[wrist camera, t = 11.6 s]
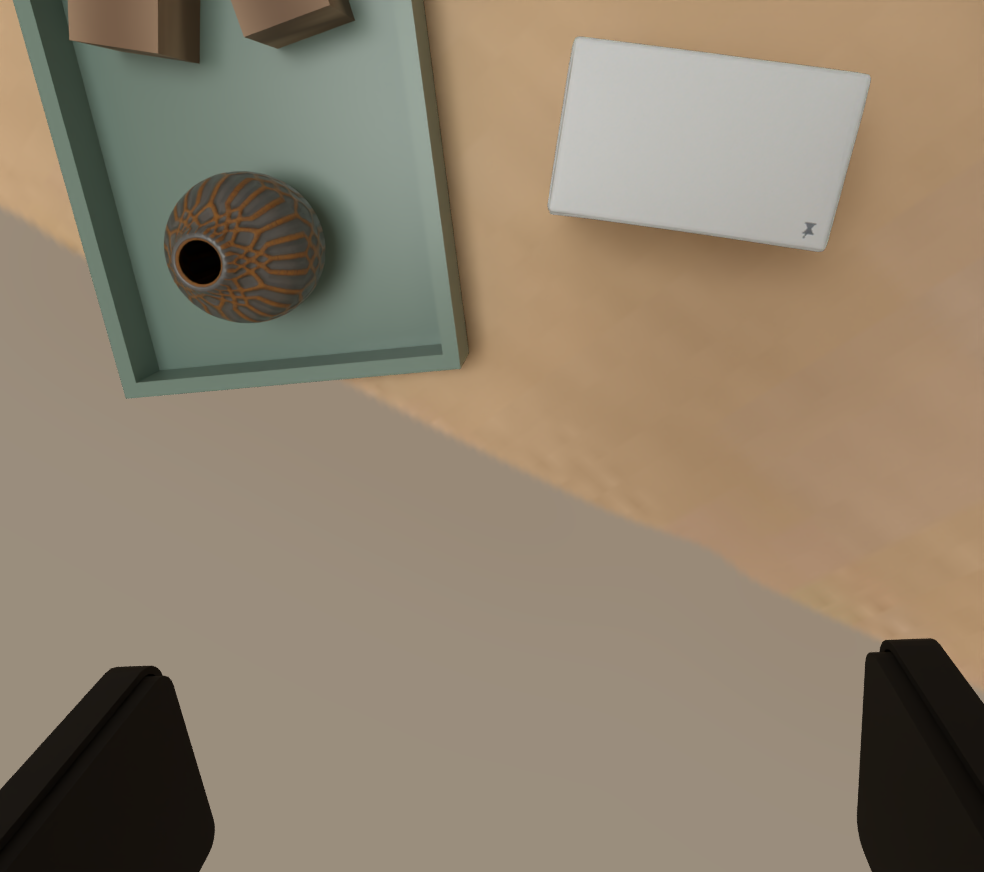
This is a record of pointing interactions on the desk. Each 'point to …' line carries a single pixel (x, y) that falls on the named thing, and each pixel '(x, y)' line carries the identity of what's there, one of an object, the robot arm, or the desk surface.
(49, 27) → the tray
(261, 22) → the walnut cube
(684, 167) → the skincare box
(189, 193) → the vase
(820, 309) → the desk surface
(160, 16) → the walnut cube
